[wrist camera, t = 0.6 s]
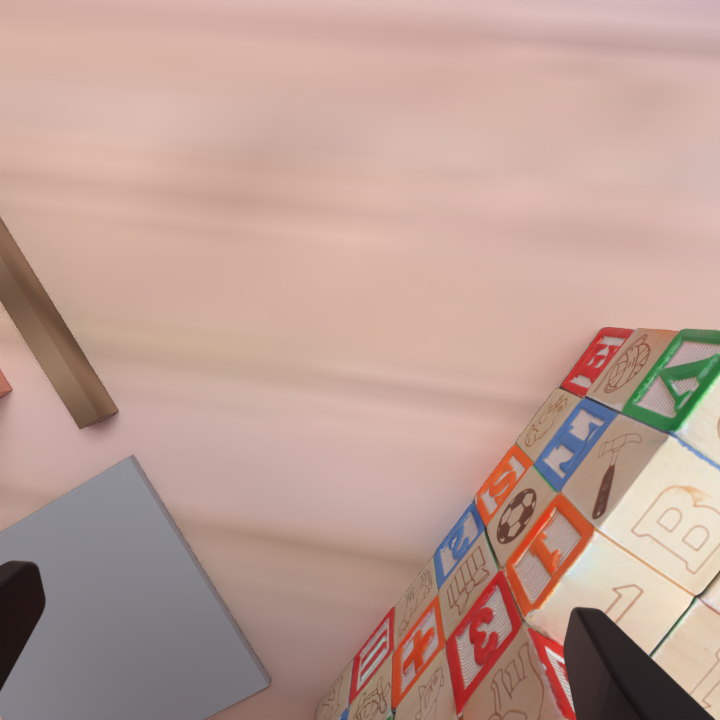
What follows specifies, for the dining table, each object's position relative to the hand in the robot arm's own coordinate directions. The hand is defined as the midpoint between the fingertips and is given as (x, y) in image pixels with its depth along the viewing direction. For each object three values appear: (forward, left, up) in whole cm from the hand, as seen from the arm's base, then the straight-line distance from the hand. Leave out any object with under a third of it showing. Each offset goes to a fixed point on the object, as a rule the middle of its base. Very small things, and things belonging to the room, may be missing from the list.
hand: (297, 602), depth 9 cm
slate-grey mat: (-13, +8, -14) cm, 21 cm away
